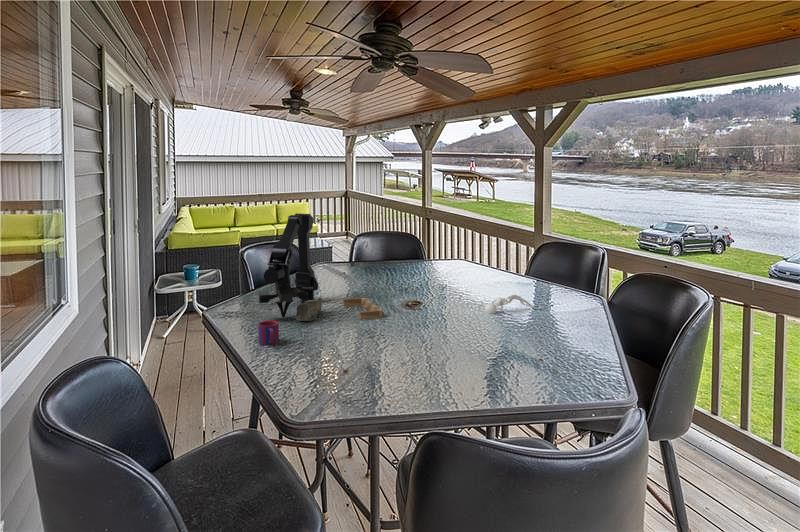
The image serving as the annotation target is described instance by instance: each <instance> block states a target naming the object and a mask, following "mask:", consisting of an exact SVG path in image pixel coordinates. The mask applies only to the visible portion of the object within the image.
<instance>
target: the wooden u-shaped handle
mask: <svg viewBox="0 0 800 532" xmlns="http://www.w3.org/2000/svg"><path fill="white" fill-rule="evenodd" d="M355 305H358V306H362V307H363V306H364V307H363V308H364V309H366V308H367V309H366V310H363V311H359V312H358V313H359V314H358V318H359V319H358V320H360V321H364V320H363V319H366V320H374V319H373V318H376V319H380V318H383V309H381V308H380V307H379V306H377V305H375V304H374V303H373V302H371V301H369V300H368V299H367V298H365V297H353V298H342V306H343V307H345V306H347V307H354V306H355ZM355 307H356V306H355ZM379 317H380V318H379Z"/></svg>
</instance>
